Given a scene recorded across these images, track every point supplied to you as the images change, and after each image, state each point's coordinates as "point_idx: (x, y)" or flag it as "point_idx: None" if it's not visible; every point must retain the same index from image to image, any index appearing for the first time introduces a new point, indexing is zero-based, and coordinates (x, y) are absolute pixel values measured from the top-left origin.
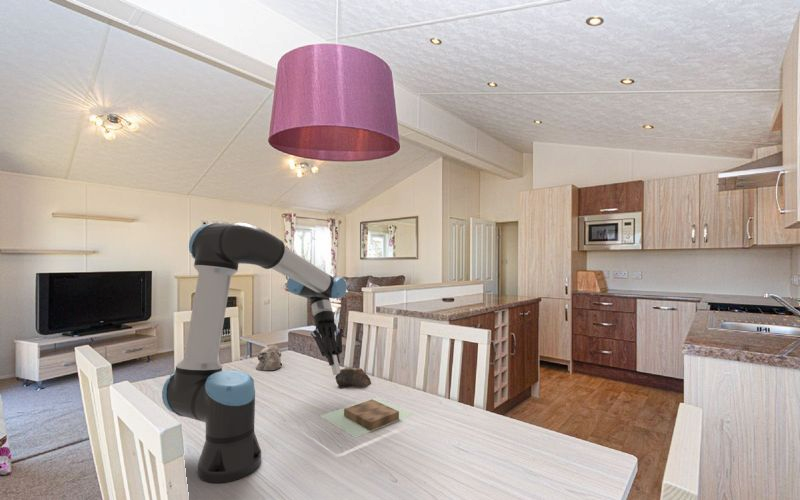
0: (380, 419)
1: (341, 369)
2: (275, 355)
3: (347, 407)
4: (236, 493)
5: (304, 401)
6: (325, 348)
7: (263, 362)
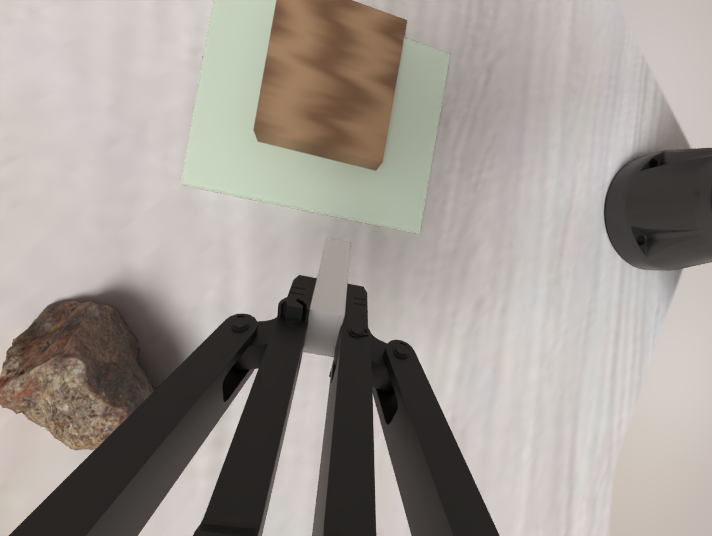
0: (366, 8)
1: None
2: None
3: (321, 208)
4: (680, 128)
5: None
6: (407, 384)
7: None
